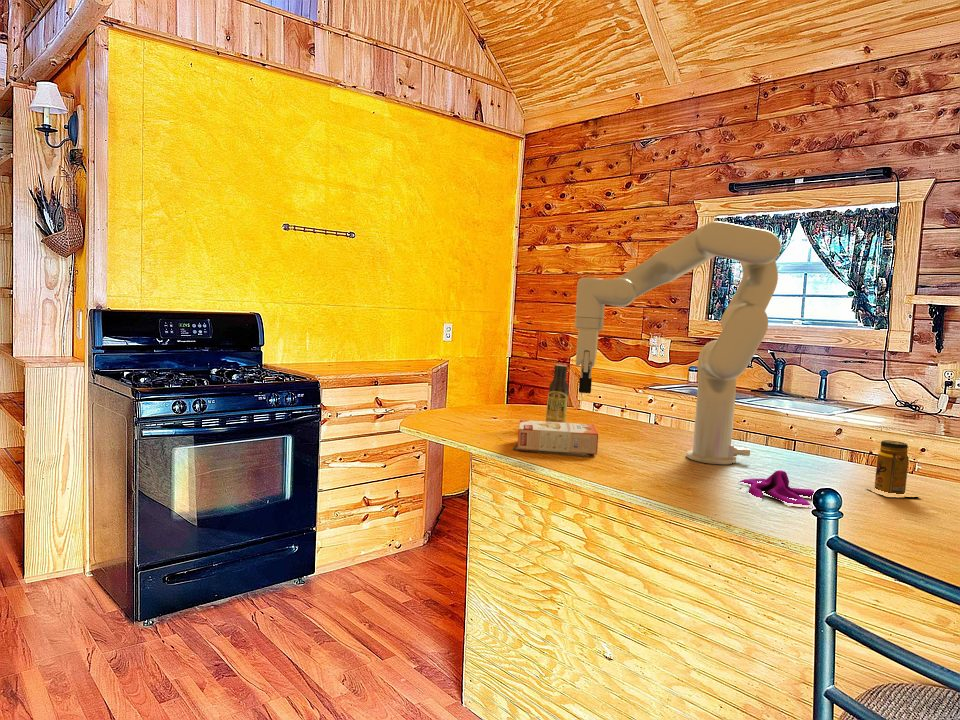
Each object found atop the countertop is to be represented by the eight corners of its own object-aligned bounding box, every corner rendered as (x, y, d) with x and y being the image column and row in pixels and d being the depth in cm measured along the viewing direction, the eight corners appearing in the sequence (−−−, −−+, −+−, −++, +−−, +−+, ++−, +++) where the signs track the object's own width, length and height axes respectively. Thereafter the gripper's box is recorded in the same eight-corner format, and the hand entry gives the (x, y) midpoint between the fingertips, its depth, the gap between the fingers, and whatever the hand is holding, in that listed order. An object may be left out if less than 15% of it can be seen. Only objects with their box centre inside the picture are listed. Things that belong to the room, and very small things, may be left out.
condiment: (865, 489, 160) (870, 438, 159) (899, 490, 161) (904, 439, 160) (886, 498, 153) (892, 445, 152) (922, 499, 154) (928, 446, 153)
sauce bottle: (543, 428, 214) (547, 365, 212) (547, 425, 220) (551, 363, 218) (564, 430, 212) (568, 366, 210) (567, 427, 218) (571, 364, 216)
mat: (591, 444, 195) (591, 442, 195) (589, 456, 179) (589, 455, 179) (520, 438, 198) (520, 436, 198) (513, 450, 183) (513, 448, 182)
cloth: (745, 479, 166) (747, 454, 165) (830, 496, 154) (833, 469, 154) (713, 499, 148) (715, 470, 148) (806, 519, 137) (809, 489, 136)
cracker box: (599, 432, 179) (518, 428, 180) (597, 455, 179) (517, 450, 181) (594, 422, 193) (518, 418, 194) (592, 444, 193) (517, 440, 195)
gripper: (576, 322, 192) (572, 388, 194) (573, 324, 177) (569, 395, 179) (603, 324, 191) (599, 390, 192) (603, 326, 176) (598, 397, 178)
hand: (584, 392), depth 186 cm, fingers closed
